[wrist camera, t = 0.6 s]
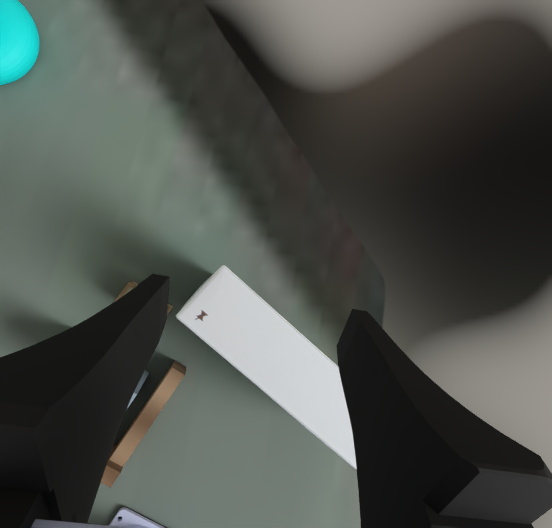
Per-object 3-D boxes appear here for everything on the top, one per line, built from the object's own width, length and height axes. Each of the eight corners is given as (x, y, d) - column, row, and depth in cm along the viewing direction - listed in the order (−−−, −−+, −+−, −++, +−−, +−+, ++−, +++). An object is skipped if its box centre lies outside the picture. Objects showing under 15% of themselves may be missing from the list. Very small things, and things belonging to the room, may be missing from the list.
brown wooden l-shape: (120, 464, 35) (110, 487, 31) (0, 400, 33) (-27, 416, 29) (186, 367, 37) (184, 377, 33) (76, 300, 35) (60, 303, 31)
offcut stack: (159, 325, 36) (153, 332, 32) (119, 300, 36) (108, 303, 31) (173, 306, 37) (169, 310, 33) (133, 281, 36) (124, 281, 32)
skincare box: (344, 383, 41) (430, 447, 25) (316, 419, 40) (388, 509, 24) (215, 268, 38) (223, 262, 23) (181, 305, 37) (166, 323, 22)
